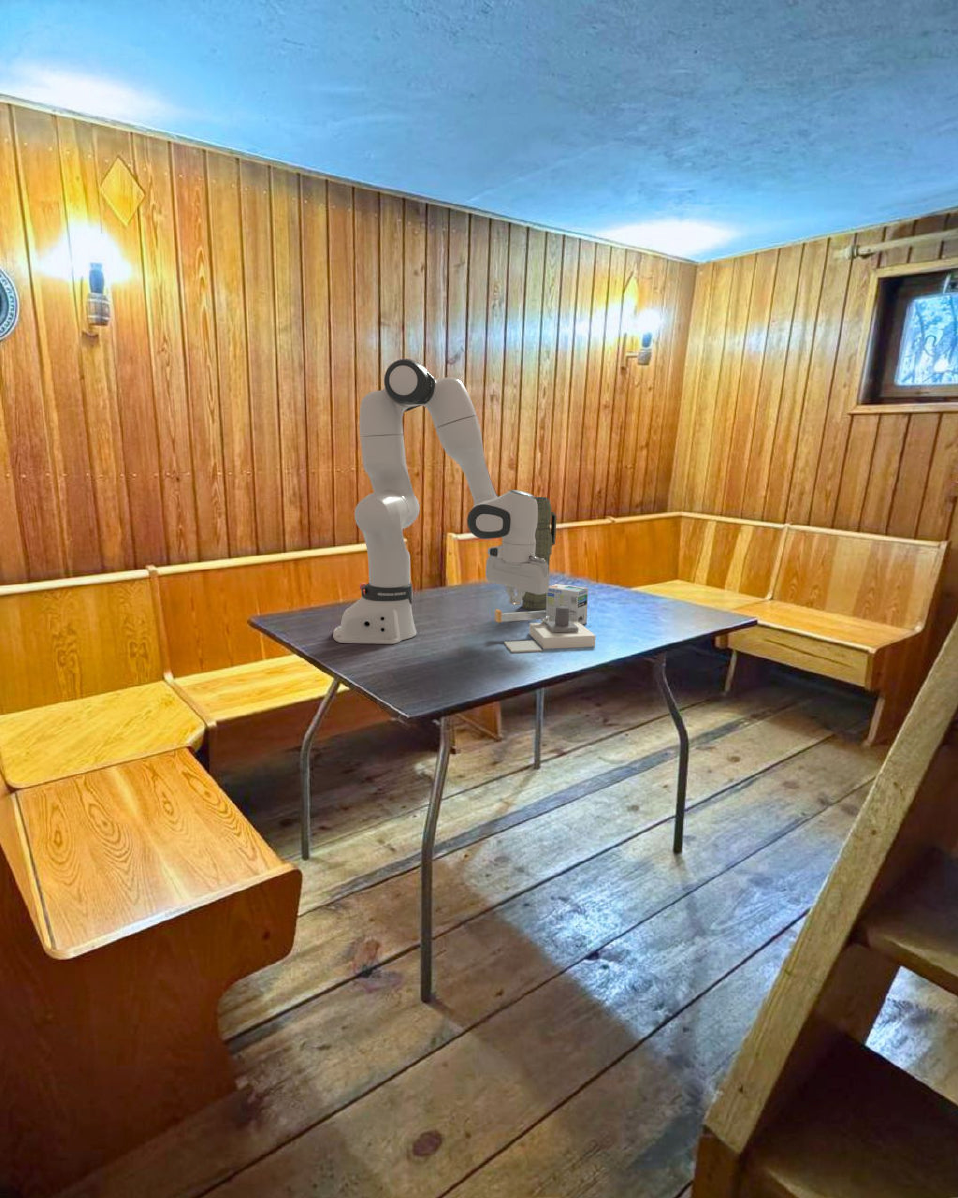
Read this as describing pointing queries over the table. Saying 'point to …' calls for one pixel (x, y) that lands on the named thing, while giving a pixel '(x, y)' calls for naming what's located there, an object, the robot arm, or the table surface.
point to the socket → (561, 637)
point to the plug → (562, 621)
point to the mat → (522, 646)
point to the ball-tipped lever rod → (521, 616)
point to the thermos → (542, 548)
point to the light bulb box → (568, 602)
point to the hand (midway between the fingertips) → (514, 603)
